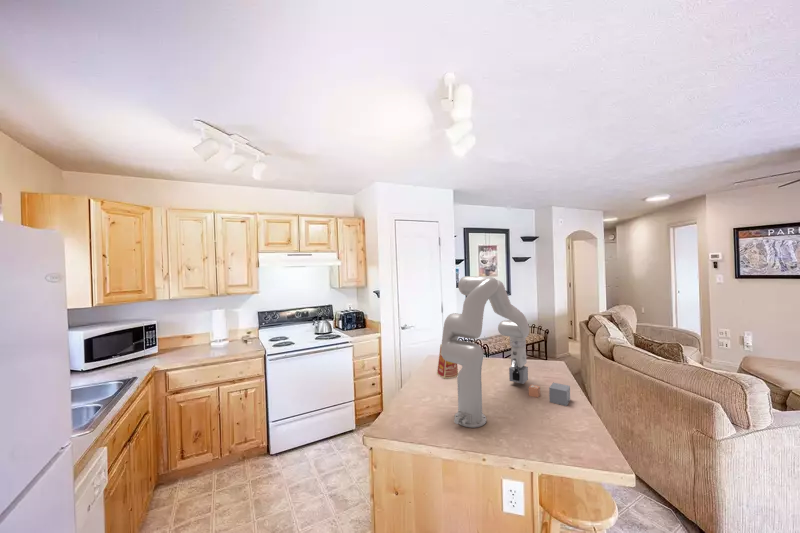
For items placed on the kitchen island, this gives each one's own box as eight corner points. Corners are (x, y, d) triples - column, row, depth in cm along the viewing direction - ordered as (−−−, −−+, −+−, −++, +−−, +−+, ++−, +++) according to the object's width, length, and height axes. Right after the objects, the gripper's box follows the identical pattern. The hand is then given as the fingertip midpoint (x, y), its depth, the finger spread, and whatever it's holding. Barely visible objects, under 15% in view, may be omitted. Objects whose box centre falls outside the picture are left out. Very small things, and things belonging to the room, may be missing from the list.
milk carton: (436, 374, 181) (435, 339, 180) (450, 371, 184) (449, 337, 184) (445, 379, 172) (444, 343, 172) (459, 376, 176) (458, 340, 176)
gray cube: (523, 383, 158) (523, 370, 158) (509, 380, 162) (509, 368, 162) (528, 379, 163) (527, 366, 163) (514, 376, 168) (514, 364, 167)
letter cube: (537, 397, 147) (537, 388, 147) (528, 395, 150) (528, 386, 150) (540, 394, 151) (540, 386, 150) (531, 392, 153) (531, 384, 153)
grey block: (566, 406, 138) (566, 391, 138) (549, 401, 143) (549, 387, 143) (570, 400, 144) (570, 385, 144) (553, 396, 148) (553, 382, 148)
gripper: (519, 348, 153) (520, 385, 154) (530, 340, 167) (531, 374, 167) (504, 346, 158) (505, 381, 158) (516, 338, 171) (517, 371, 172)
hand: (518, 377), depth 163 cm, fingers closed on gray cube, 7 cm apart
